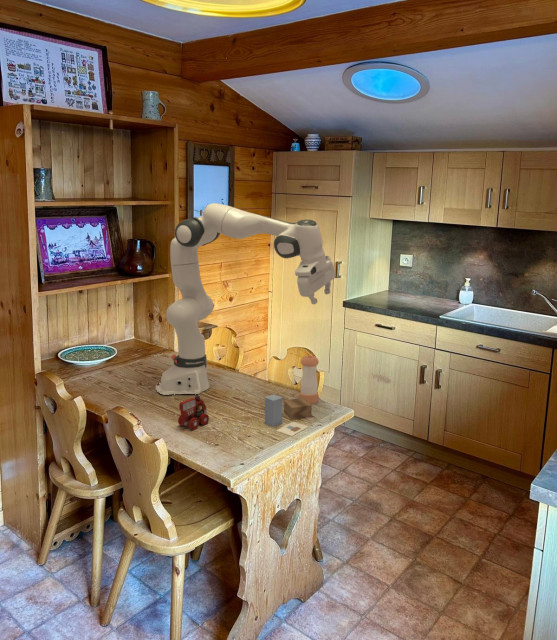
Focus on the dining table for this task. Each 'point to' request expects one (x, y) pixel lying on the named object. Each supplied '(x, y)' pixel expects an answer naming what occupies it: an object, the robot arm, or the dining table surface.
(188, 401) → the toy fire truck
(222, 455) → the dining table surface
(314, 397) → the pepper shaker
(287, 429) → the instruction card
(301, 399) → the walnut block
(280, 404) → the gray brick
